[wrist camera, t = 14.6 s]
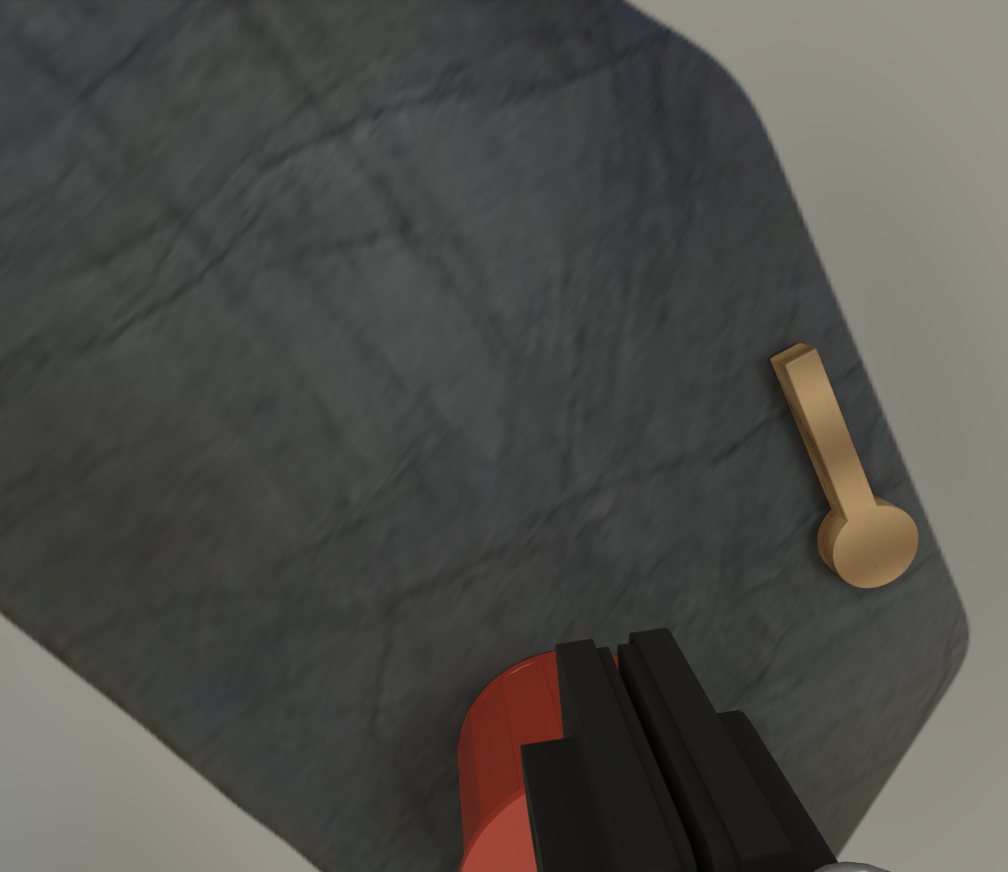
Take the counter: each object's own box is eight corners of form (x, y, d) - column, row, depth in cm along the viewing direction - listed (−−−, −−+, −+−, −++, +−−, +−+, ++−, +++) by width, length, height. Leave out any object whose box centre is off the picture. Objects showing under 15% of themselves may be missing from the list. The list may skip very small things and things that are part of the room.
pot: (448, 663, 38) (456, 786, 30) (672, 635, 39) (740, 748, 31) (467, 845, 41) (479, 1001, 33) (672, 816, 42) (733, 961, 34)
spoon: (741, 372, 35) (756, 379, 33) (826, 327, 35) (845, 332, 33) (833, 587, 39) (850, 603, 37) (909, 548, 39) (929, 562, 37)
